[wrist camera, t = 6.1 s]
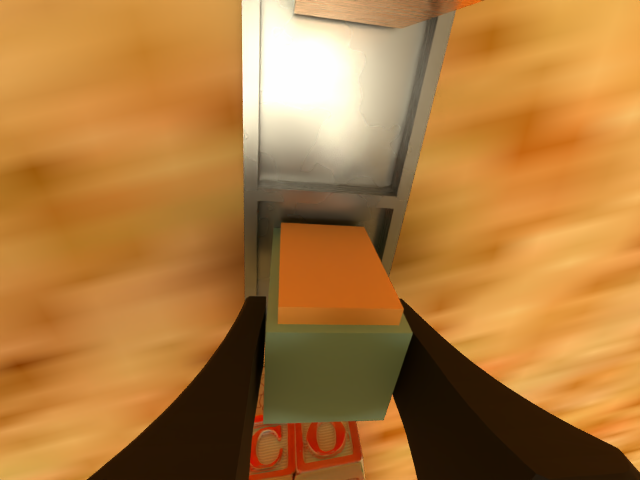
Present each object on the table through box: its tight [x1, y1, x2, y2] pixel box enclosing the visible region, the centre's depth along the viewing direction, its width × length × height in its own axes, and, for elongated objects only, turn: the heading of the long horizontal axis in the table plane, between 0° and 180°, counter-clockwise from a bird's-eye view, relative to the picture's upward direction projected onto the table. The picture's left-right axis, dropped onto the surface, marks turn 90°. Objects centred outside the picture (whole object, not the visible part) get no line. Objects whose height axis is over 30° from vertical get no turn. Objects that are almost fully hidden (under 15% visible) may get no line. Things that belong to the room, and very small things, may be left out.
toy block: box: [263, 223, 413, 424], centre depth 12 cm, size 4×5×6 cm
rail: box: [242, 0, 483, 340], centre depth 10 cm, size 6×19×7 cm, turn 174°
